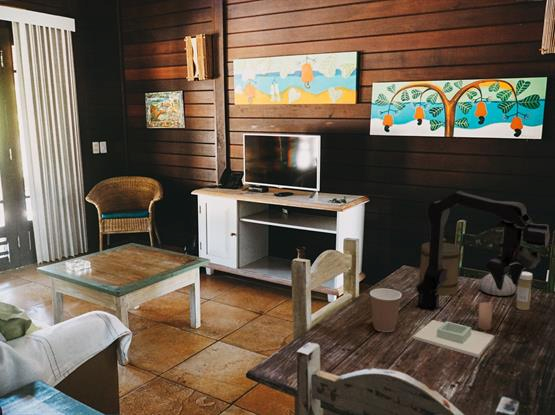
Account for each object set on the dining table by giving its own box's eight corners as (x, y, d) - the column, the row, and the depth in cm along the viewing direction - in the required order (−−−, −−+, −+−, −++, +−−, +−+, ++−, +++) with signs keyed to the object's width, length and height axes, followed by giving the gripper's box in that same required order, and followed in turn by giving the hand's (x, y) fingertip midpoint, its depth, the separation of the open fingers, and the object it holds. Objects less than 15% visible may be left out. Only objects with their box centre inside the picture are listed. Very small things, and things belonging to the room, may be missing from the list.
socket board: (413, 338, 155) (413, 328, 154) (432, 322, 167) (433, 312, 166) (478, 357, 142) (479, 346, 142) (494, 338, 154) (494, 328, 154)
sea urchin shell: (472, 288, 200) (473, 269, 199) (500, 285, 204) (501, 267, 202) (493, 299, 188) (495, 280, 186) (523, 296, 191) (525, 277, 190)
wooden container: (448, 282, 207) (451, 232, 203) (463, 295, 193) (467, 241, 189) (414, 283, 207) (416, 233, 203) (426, 296, 192) (429, 241, 188)
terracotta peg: (476, 327, 163) (477, 304, 161) (479, 323, 166) (481, 301, 164) (488, 330, 160) (490, 307, 159) (492, 326, 163) (494, 304, 162)
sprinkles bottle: (532, 308, 179) (535, 273, 176) (525, 311, 176) (528, 275, 174) (520, 304, 182) (523, 270, 180) (513, 307, 180) (516, 272, 177)
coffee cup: (402, 324, 165) (404, 290, 163) (396, 336, 156) (398, 301, 154) (372, 319, 170) (374, 286, 167) (365, 331, 160) (366, 296, 158)
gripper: (521, 251, 147) (516, 300, 149) (551, 242, 157) (546, 288, 160) (486, 243, 155) (482, 289, 158) (517, 235, 166) (513, 279, 169)
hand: (507, 286), depth 161 cm, fingers open, 9 cm apart
